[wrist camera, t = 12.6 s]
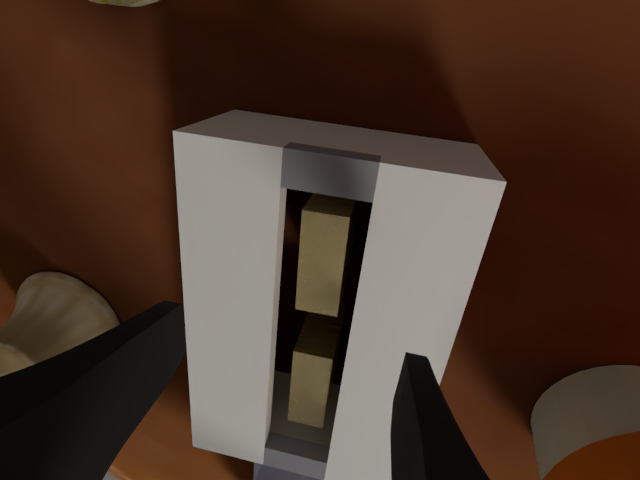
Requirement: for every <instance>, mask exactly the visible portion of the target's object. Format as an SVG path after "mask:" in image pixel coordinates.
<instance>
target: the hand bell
mask: <svg viewBox="0 0 640 480" xmlns="http://www.w3.org/2000/svg"><path fill="white" fill-rule="evenodd" d="M119 324H120V322H119V320H118V318H117V316H116V314H115V312H114V310H113V309H112V308H111V306H110V305H109V304H108V303H107V301H106V300H105V299H104V298H103V297H102V296H101V295H100V294H99V293H98V292H96V291H95V290H94V289H93V288H91V287H90V286H88V285H86V284H85V283H84V282H82V281H80V280H78V279H76V278H74V277H72V276H69V275H66V274H63V273H59V272H39V273H36V274H33V275H31V276H29V277H28V278H27V279H25V281H24V282H23V283H22V284H21V286H20V288H19V290H18V292H17V296H16V307H15V310H14V312H13V314H12V316H11V317H10V318H9V320H8V321H7V322H6V323H5V324H4V325H3V326H2V327H1V328H0V377H1V376H4V375H7V374H9V373H12V372H15V371H18V370H21V369H24V368H26V367H29V366H31V365H34V364H36V363H39V362H41V361H44V360H46V359H49V358H51V357H53V356H56V355H58V354H60V353H63V352H65V351H67V350H69V349H71V348H73V347H75V346H78V345H80V344H82V343H84V342H86V341H88V340H90V339H92V338H94V337H96V336H98V335H100V334H102V333H104V332H106V331H108V330H110V329H112V328H114V327H116V326H118V325H119Z"/></svg>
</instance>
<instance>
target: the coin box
mask: <svg viewBox="0 0 640 480" xmlns="http://www.w3.org/2000/svg"><path fill="white" fill-rule="evenodd" d="M173 144H174V159H175V175H176V191H177V206H178V222H179V237H180V253H181V269H182V284H183V300H184V315H185V331H186V347H187V362H188V378H189V393H190V409H191V425H192V440H193V446H194V447H197V448H201V449H205V450H209V451H213V452H217V453H220V454H224V455H228V456H232V457H236V458H239V459H243V460H247V461H251V462H255V463H258V464H262V465H266V466H270V467H274V468H278V469H281V470H285V471H289V472H293V473H297V474H300V475H304V476H308V477H312V478H316V479H320V480H391V441H390V432H391V419H392V407H393V399H394V395H395V391H396V387H397V384H398V380H399V376H400V372H401V369H402V365H403V361H404V357H405V353H406V352H408V353H413V354H417V355H422V356H426V357H427V358H428V359H429V361H430V364H431V367H432V369H433V372H434V375H435V377H436V379H437V382H438V384H439V385H440V382H441V379H442V376H443V373H444V370H445V367H446V364H447V361H448V358H449V355H450V352H451V349H452V346H453V343H454V340H455V337H456V334H457V331H458V328H459V325H460V322H461V319H462V316H463V313H464V310H465V307H466V304H467V301H468V298H469V295H470V292H471V289H472V286H473V283H474V280H475V277H476V274H477V271H478V268H479V265H480V262H481V259H482V256H483V253H484V250H485V247H486V244H487V241H488V238H489V235H490V232H491V229H492V226H493V223H494V220H495V217H496V214H497V210H498V207H499V204H500V201H501V198H502V195H503V192H504V189H505V186H506V183H507V182H506V180H505V179H504V178H503V176H502V175H501V174H500V173H499V171H498V170H497V169H496V167H495V166H494V165H493V163H492V162H491V161H490V160H489V158H488V157H487V156H486V154H485V153H484V152H483V150H482V149H481V148H480V147H479V145H478V144H472V143H465V142H458V141H451V140H444V139H437V138H430V137H423V136H416V135H409V134H402V133H395V132H388V131H381V130H374V129H367V128H360V127H353V126H346V125H339V124H332V123H325V122H318V121H311V120H304V119H297V118H290V117H283V116H276V115H269V114H262V113H255V112H248V111H241V110H232V111H229V112H226V113H223V114H220V115H217V116H214V117H212V118H209V119H206V120H203V121H200V122H197V123H194V124H191V125H188V126H185V127H182V128H179V129H176V130H173ZM287 189H293V190H299V191H305V192H311V193H317V194H323V195H329V196H335V197H341V198H347V199H353V200H359V201H365V202H371V203H373V205H372V211H371V216H370V222H369V228H368V233H367V239H366V245H365V251H364V256H363V262H362V268H361V273H360V279H359V285H358V290H357V296H356V302H355V307H354V313H353V319H352V324H351V330H350V336H349V341H348V347H347V353H346V359H345V364H344V370H343V376H342V381H341V386H340V385H336V384H332V389H331V393H330V398H329V402H328V407H327V412H326V416H325V421H324V425H323V428H319V427H315V426H311V425H306V424H302V423H298V422H294V421H290V420H288V409H289V397H290V385H291V374H288V373H284V372H279V371H275V370H274V367H275V352H276V338H277V323H278V309H279V294H280V280H281V265H282V251H283V236H284V222H285V207H286V193H287Z"/></svg>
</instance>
